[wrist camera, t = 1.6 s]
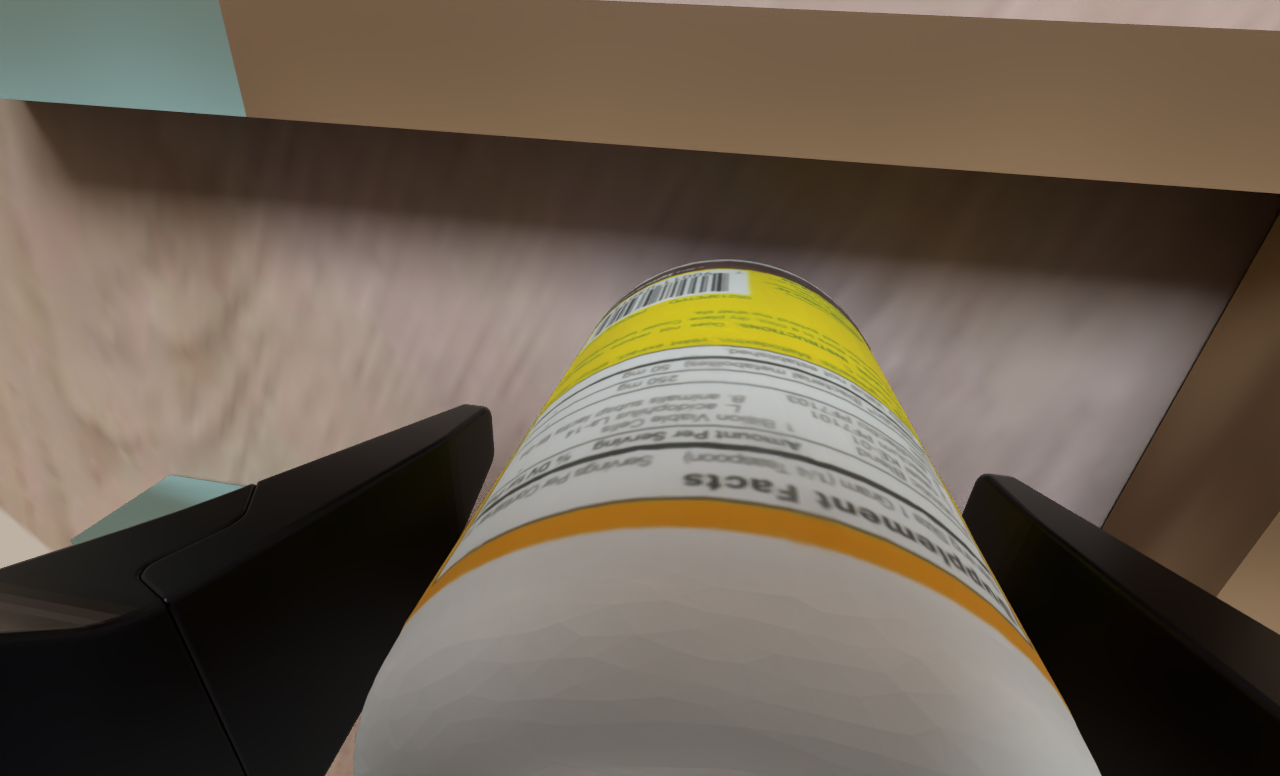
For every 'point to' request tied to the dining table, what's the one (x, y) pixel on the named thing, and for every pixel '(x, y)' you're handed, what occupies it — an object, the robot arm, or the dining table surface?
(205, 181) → the dining table surface
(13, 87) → the bay
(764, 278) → the supplement bottle
